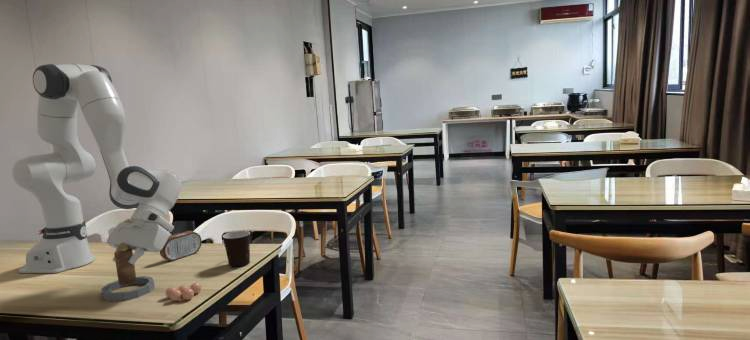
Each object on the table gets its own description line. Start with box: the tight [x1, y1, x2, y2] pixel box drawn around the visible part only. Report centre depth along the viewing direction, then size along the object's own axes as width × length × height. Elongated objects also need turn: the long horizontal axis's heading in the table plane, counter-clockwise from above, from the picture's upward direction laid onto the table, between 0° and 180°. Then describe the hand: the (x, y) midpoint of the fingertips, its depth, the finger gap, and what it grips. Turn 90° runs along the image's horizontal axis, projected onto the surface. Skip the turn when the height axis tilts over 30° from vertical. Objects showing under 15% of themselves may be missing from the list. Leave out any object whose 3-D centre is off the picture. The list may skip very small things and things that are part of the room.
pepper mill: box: [113, 243, 137, 285], centre depth 140 cm, size 5×5×12 cm
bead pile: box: [165, 282, 202, 302], centre depth 134 cm, size 9×7×3 cm
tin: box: [159, 230, 202, 261], centre depth 170 cm, size 15×3×8 cm, turn 144°
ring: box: [101, 275, 155, 302], centre depth 141 cm, size 13×13×2 cm
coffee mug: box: [222, 230, 251, 269], centre depth 160 cm, size 12×9×10 cm
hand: (122, 262), depth 139 cm, fingers closed on pepper mill, 5 cm apart
